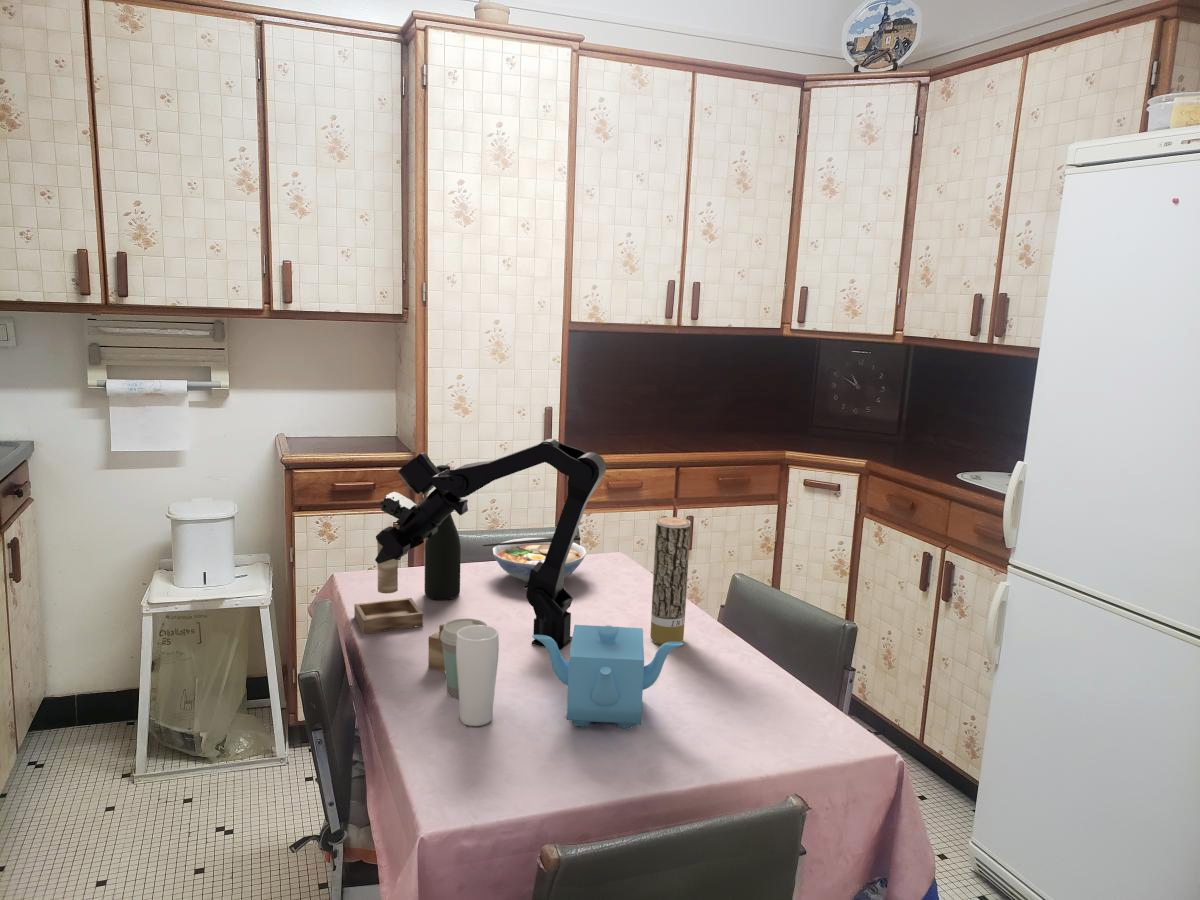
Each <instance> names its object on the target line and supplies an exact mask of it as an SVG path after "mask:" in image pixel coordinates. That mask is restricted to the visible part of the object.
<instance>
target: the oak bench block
mask: <svg viewBox="0 0 1200 900" xmlns="http://www.w3.org/2000/svg"><path fill="white" fill-rule="evenodd" d="M445 624H446V623H442V624H440V625H439V626H438V627H439V629H438V630H439V631H436V632H434V633H432V634H431V635H429V636H428V653H427V655H428V656H427V657H428V662H427V663H428V665H427V666H428V667H427V668H428V669H432V668H433V670H436V669H438V670H437V671H441V672H445V664H444V655H443V646H442V641H441V639H440V636H441V632H442V630H443V627H444V625H445Z"/></svg>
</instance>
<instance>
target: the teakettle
mask: <svg viewBox="0 0 1200 900" xmlns="http://www.w3.org/2000/svg"><path fill="white" fill-rule="evenodd" d="M531 637H532V638H533V639H534V638H535V639H537V640H538V641H540V642H542V643H543V644H544V646H545V647H544V648H545V649H546V650H547V653H548V656H549V661H550V663H551V667H552V671H553V672H554V674H555V676H556V678H557V679H558V681H560V682H561V683H562V684H563V685H565V686H567V696H566V697H567V698H566V703H567V704H566V721H571V722H573V724H574V725H576V726H579V727H585V726H586V727H587V726H589V725H591V723H592V722H594V723H595V722H596V723H609V724H610V723H611V724H612V723H613V724H616V725H617V727H619V728H620V729H632V728H634V727H635V726H636V725H642V712H643V711H642V709H643V694H644V693H643V691H644V690H647V689H648V688H650V687H652V686H653V685H654V684H655V683H656V682H657V680H658V678H659V676H660V674H661V672H662V669H663V666H664V664H665V661H666V659H667V657H668V655H669V654H670V653H671V652H672V651H674V649H677V648H679V647H681V646H684V642H683V641H682V642H667V643H664V644H663V645H661V644H660V646H659V647H658V649H657V650H656V653H655V655H654V657H653V659H652V660H651V661H650V663H648V664H647V665H645V652H644V649H645V647H644V629H643V628H642V627H629V626H627V627H626V626H612V625H589V624H586V625H585V624H574V625H573V631H572V636H571V637H572V641H571V642H570V648H569V649H570V650H569V655H568V661H567V660H566V659H565V658H564V657H563V656H562V654H561V652H560V650H559V648H558V646H557V643H556V642H555V641H554V640H553V639H552V638H551V637H549V636H545V635H531ZM633 726H634V727H633ZM631 727H632V728H631Z"/></svg>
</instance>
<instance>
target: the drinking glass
mask: <svg viewBox="0 0 1200 900" xmlns="http://www.w3.org/2000/svg"><path fill="white" fill-rule="evenodd" d="M499 639H500V638H499V631H498V630H497V629H496V628H495V627H493V626H488V625H487V626H485V625H472V626H466V627H463V628H461V629H459V630H458V631H457V637H456V666H457V679H458V692H459V699H458V701H459V703H458V705H459V720H460V722H461V723H462V724H463V725H466V726H469V727H482V726H485V725H487V724H489V723H490V722H491V721H492V720H493V717H494V702H495V701H494V700H495V693H496V692H495V689H496V682H497V674H498V665H499V664H498V663H499V650H500V649H499V646H500V643H499V642H500V641H499Z"/></svg>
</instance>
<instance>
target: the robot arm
mask: <svg viewBox="0 0 1200 900" xmlns="http://www.w3.org/2000/svg"><path fill="white" fill-rule="evenodd" d="M544 463H546V464H548V465H550V466H551V467H553V468H554V469H555V470H556V471H558V472H560V473H561V474H563V475H565V476H567V477H568V479H567V487H566V489H567V490H566V494H567V495H566V499H565V502H564V505H563V507H562V508H563V509H562V511H561V514H560V516H559V518H558V521H557V525H556V528H555V531H554V533H553V536H552V537H551V538H552V541H551V544H550V547H549V550H548V552H547V555H546V558H545V561H544V563H542V562H540V561H539V562H538V563H537V564H536V565H535V566H534V567H533V568H532V569H531V571H530V576H529V581H528V582H526V584H525V586H524V589H526V592H525V597H526V600H527V602H528V604H530V606H531V607H532V609H533V611H534V615H535V617H534V619H533V635H545V636H549V637H551V638H552V639H553V640H554V641H555V642H556V643H557V646H558V648H559V651H560V650H563V649H564V648H565V647H567V646H568V645H569V644H571V642H572V636H571V623H572V622H571V621H572V613H571V612H568V610H569V608H570V607H571V605H572V603H573V601H574V598H573V596H572V595H571V594H570V593H569V592H568V591H567V590H566V589H565V588H564V582H565V578H566V577H565V562H566V560H567V557H568V554H569V551H570V548H571V546H572V543H574V541H575V540H574V537H575V535H577V532H578V530H579V529H578V528H579V527H580V524H581V520H582V518H583V515H584V512H585V509H586V507H587V505H588V501H589V500H590V498H591V497H592V495H593V493H595V492H594V491H595V490H596V489H597V488H598V485H599V484H600V482H601V480H602V479H603V478H604V475H605V473H606V471H607V464H606V462H605V459H604V458H603V456H601V455H600V454H598V453H596V452H592V451H591V452H585V451H583V450H582V449H579V448H577V447H574V446H571V445H567V444H564V443H562V442H560V441H559V440H556V439H554V438H547V439H545V440H544V441H542V442H540V443H538V444H535V445H532V446H529V447H526V448H523V449H521V450H518V451H515V452H512V453H510V454H508V455H504V456H502V457H499V458H496V459H493V460H487V461H478V462H471V463H466V464H463V465H461V466H459V467H458V468H455V469H450V470H445V471H443V472H441V473H440V471H439V470H438V468H437V466H436V465H435V464H434V463H433V462H432V460H431V459H430V457H429V456H428V454H427V453H426V452H421V453H419V454H418V455H417V456H415V457H414V458H413V459H411V460H409V462H407V463H405V464H404V465H402V466H401V468H399V470H398V472H397V474H398V475H399V477H400V478H401V480H403V482H404V483H405V484H406V485H407V486H408V487H409V488H410V489H411V491H412V492H413V493H414V494H415V495H420V494H421V495H422V496H424V495H426V494H427V493H429V492H430V491H431V492H430V493H429V494H428V495H427V496H426V497H424V499H422V501H420V502H419V503H415V502H414V501H413V500H412V499H410V498H408V497H406V496H404V495H403V494H401V493H399V492H397V491H392V492H390V493H388V494H386V495H385V497H384V499H383V500H381V501H380V505H381V506H380V510H381V512H384V513H385V514H387V515H390V516H392V517H394V518H395V519H397V520H396V521H395V523H396V524H397V525H398V526H399V528H397V527H396V526H393V525H391V526H390V525H389V526H387V527H385V528H384V529H382V530H381V531H379V533H378V534H377V535H376V536H375V539H376V542H377V541H378V542H379V543H380V544H381V545H382V546H383V547H382V549H381V550H380V552H379V554H378V553H377V556H376V557H375V559H374V561H375V562H376V563H377V565H378V564H379V563H382V562H385V561H388V560H392V559H395V560H399V559H401V558H402V557H404V556H406V555H407V554H408V552H409V551H410V550H412V549H415V548H416V547H419V546H420V545H422V544H423V543H424V540H426V539H427V540H428V539H430V538H431V537H433V536H434V535H435V534H436V533H437V532H438V526H439V525H440V524H441V523H442V521H443V520H444V519H445V518H446V517H448V516H449V515H450V514H451V515H452V513H453V512H454V511H455V512H456V513H457V514H458V515H459V516H462V515H464V514H465V513H467V512H468V511H469V508H468V503H469V500H468V499H467V498H466V497H469V496H470V495H471V494H474V493H475V492H476V491H479V490H480V489H482V488H483V487H485V486H487V485H489V484H490V483H492V482H494V481H496V480H498V479H501V478H504V477H507V476H509V475H512V474H516V473H520V472H521V471H524V470H527V469H529V468H532V467H536V466H537V465H540V464H544ZM434 488H435V489H434ZM432 489H434V490H432ZM463 498H466V499H463ZM531 645H533V646H537V647H542V648H546V647H545V646H544V644H543V643H542V642H540V641H538V640H537V639H535V638H533V640H532V641H531Z"/></svg>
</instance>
